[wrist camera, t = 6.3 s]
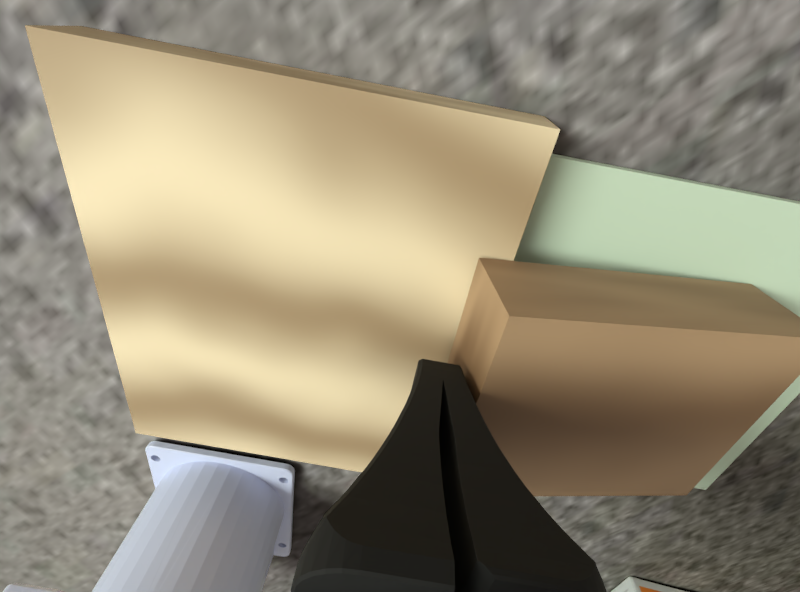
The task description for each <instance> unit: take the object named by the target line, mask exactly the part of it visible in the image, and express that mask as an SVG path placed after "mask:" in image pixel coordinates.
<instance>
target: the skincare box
mask: <svg viewBox="0 0 800 592" xmlns="http://www.w3.org/2000/svg"><path fill="white" fill-rule="evenodd" d="M610 592H688V591H684V590H679V589H675V588H671V587H667V586H664V585H660V584H656V583H653V582H649V581H645V580H641V579H638V578H636V577H631V576H629V577H628V578H626V579H625V580H624V581H623V582H622V583H621V584H619V585H618V586H617V587H616V588H614V589H613V590H612V591H610Z"/></svg>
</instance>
